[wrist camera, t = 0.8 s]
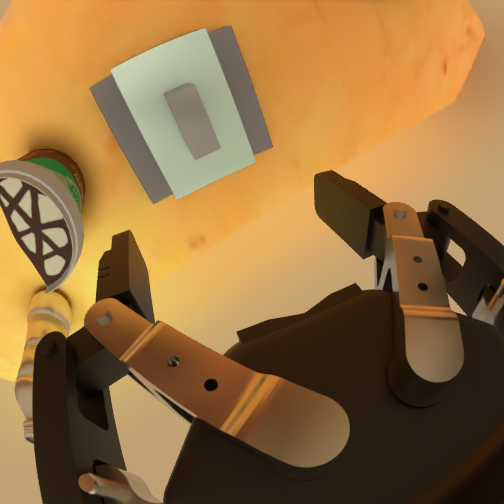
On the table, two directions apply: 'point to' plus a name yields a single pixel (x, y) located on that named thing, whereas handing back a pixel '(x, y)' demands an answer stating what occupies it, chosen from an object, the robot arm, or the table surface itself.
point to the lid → (185, 112)
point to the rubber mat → (133, 139)
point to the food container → (45, 211)
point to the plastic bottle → (39, 324)
